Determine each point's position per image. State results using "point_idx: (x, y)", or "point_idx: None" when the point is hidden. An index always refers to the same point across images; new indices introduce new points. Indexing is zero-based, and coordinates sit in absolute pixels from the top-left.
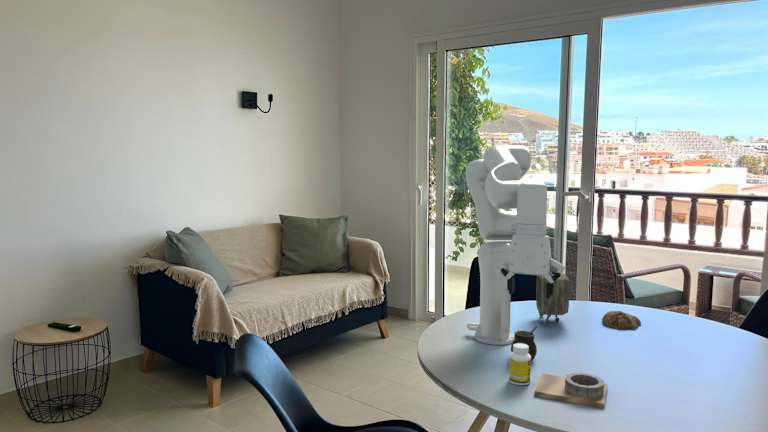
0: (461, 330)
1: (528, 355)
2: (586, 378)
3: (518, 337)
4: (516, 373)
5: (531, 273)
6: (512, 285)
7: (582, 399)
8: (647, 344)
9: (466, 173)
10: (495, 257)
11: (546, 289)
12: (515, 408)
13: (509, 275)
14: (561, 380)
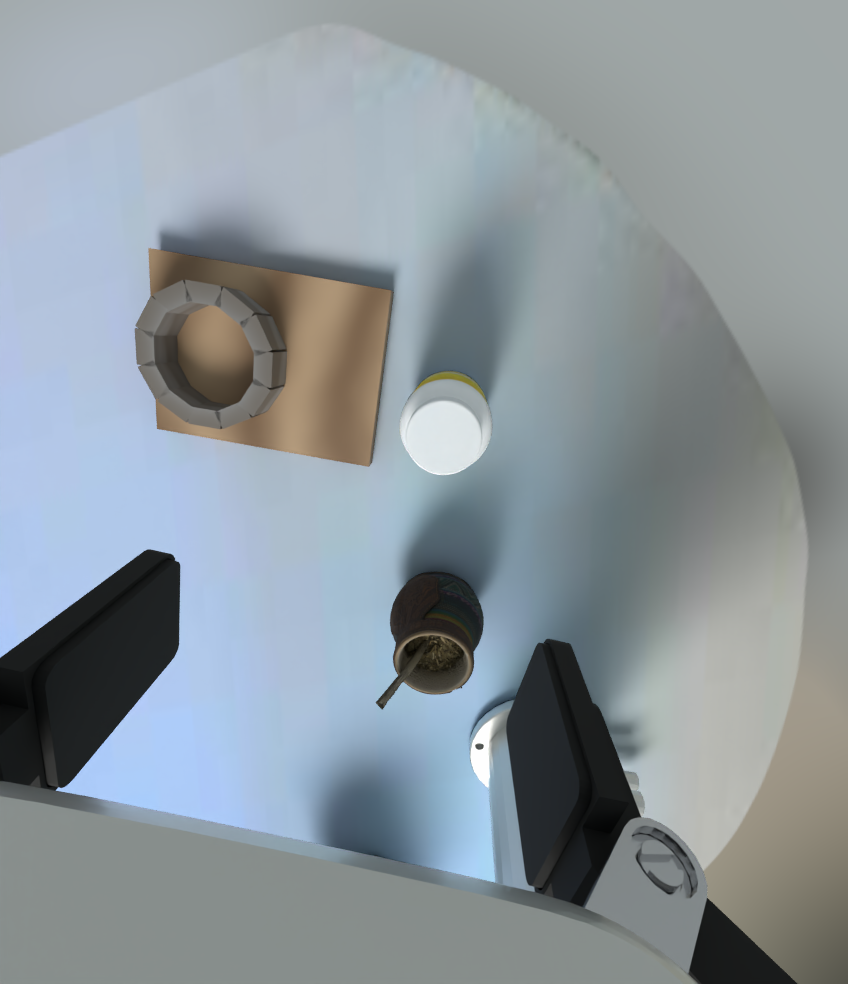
0: (648, 795)
1: (409, 418)
2: (208, 407)
3: (456, 631)
4: (460, 376)
5: (166, 842)
6: (549, 738)
7: (221, 263)
8: (95, 769)
9: None
10: None
11: (111, 612)
12: (460, 146)
13: (649, 892)
14: (302, 419)
